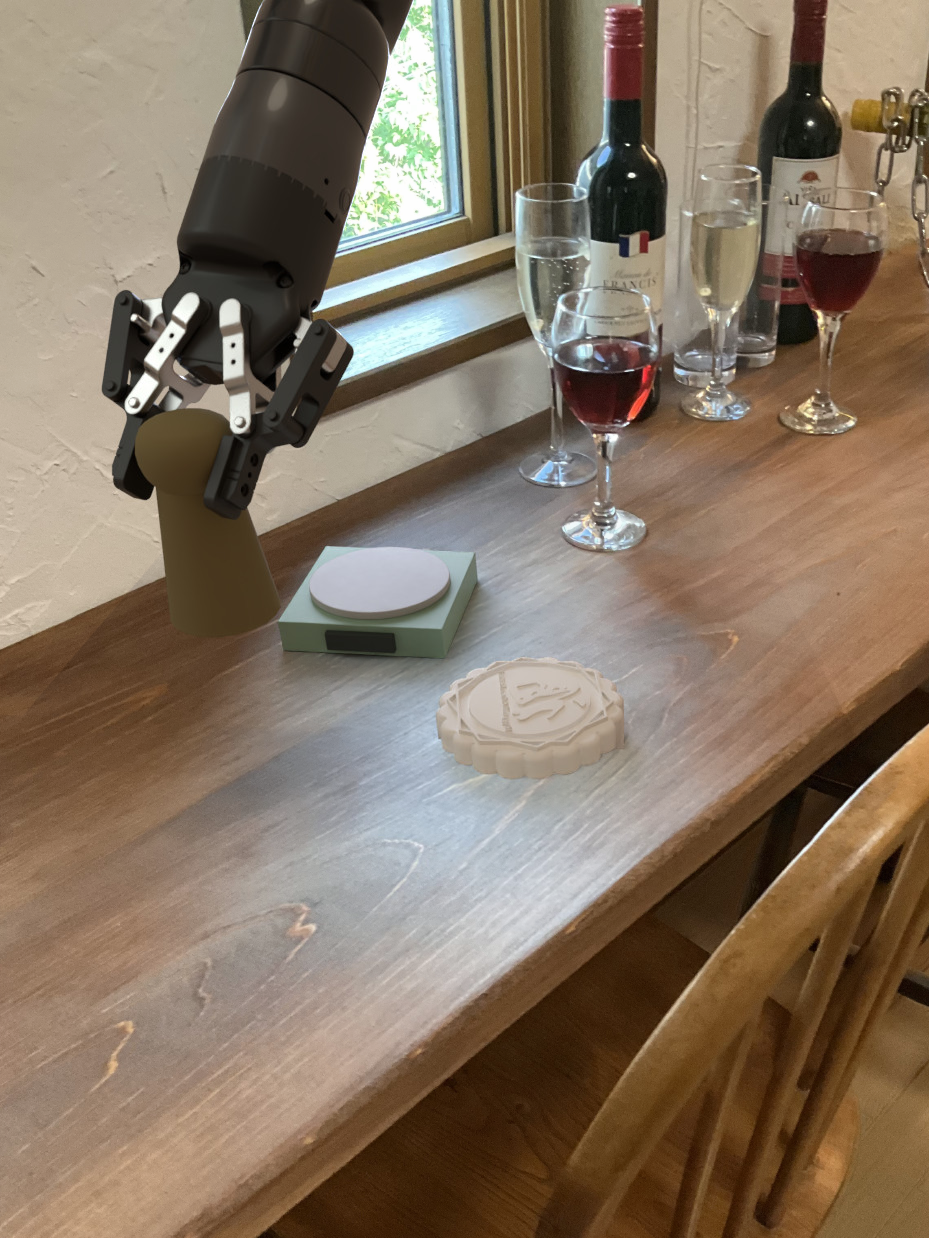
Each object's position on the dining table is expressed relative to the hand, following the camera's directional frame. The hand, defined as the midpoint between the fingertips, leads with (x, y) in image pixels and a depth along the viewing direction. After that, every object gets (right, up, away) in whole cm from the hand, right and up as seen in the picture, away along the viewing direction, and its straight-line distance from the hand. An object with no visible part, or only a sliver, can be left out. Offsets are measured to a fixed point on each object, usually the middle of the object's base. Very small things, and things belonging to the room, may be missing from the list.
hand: (175, 502), depth 65 cm
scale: (+5, -1, +31) cm, 32 cm away
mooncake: (+17, -12, +18) cm, 27 cm away
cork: (+1, -5, +6) cm, 8 cm away
